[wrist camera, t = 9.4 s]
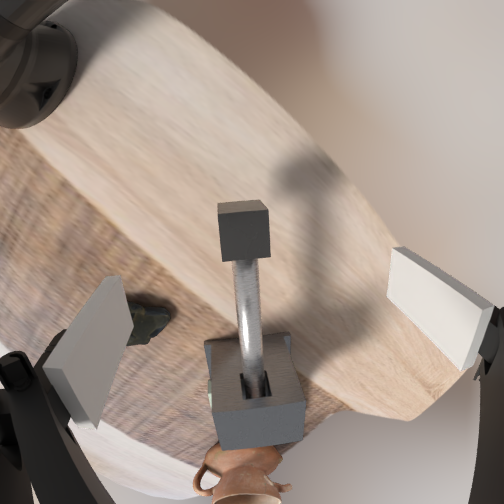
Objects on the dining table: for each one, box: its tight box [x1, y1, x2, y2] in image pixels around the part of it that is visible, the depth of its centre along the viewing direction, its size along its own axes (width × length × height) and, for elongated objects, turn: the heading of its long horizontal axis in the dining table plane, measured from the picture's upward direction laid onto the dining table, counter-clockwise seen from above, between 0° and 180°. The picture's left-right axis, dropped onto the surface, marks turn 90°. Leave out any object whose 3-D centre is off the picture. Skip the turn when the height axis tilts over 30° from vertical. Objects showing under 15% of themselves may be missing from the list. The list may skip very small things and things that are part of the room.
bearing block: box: [204, 332, 306, 451], centre depth 36 cm, size 8×12×14 cm, turn 94°
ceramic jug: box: [193, 442, 292, 504], centre depth 44 cm, size 18×14×14 cm
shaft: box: [218, 200, 271, 400], centre depth 30 cm, size 27×4×5 cm, turn 4°
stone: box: [126, 302, 170, 346], centre depth 36 cm, size 7×13×5 cm, turn 95°
